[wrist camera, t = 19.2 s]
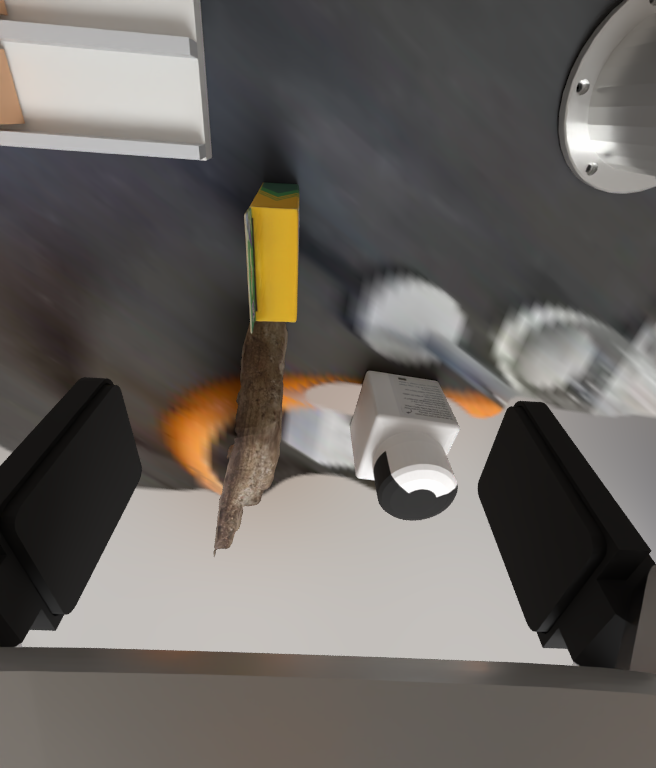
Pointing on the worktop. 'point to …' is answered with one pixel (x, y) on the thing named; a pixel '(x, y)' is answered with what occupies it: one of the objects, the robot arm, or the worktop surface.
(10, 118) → the light orange block
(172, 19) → the white divided tray
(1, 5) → the tan rectangular block
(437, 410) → the container
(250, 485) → the mineral sample
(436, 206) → the worktop surface
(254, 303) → the crayon box
